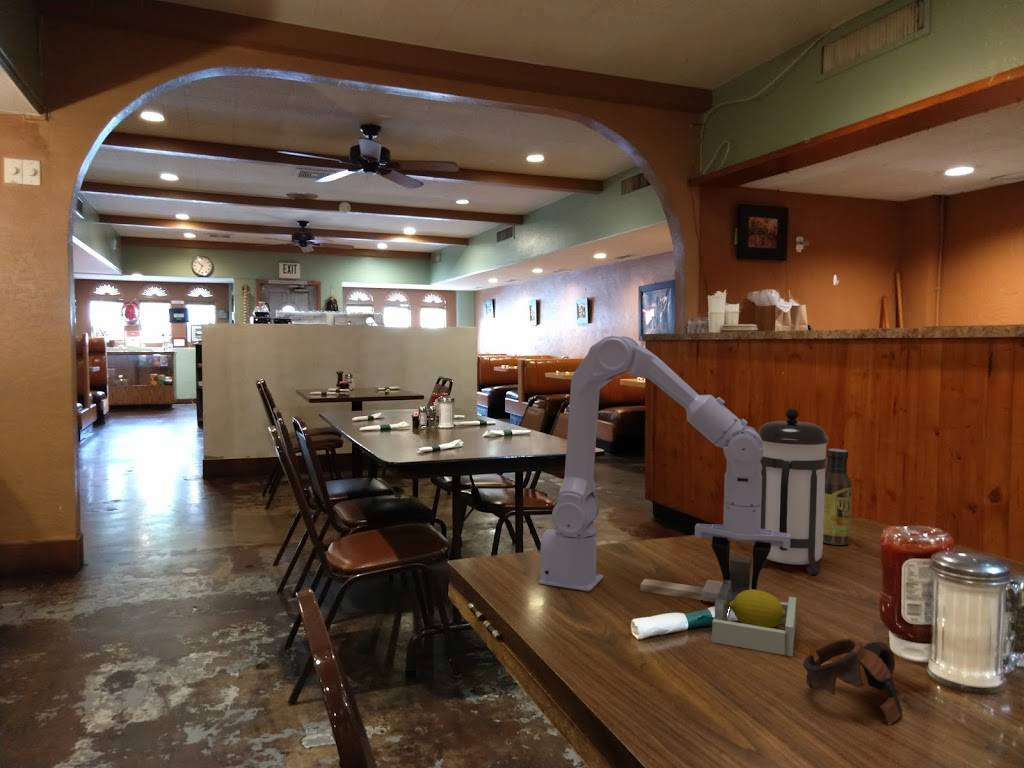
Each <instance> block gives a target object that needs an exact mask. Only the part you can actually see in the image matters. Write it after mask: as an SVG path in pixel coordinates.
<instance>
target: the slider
mask: <svg viewBox="0 0 1024 768" xmlns="http://www.w3.org/2000/svg"><path fill="white" fill-rule="evenodd" d="M752 562H753V557H749V556H742V555H735V554H733V555H732V556H731V557H730V559H729V566H730V580H724V581H723V580H722V581H720V580H714V579H707V580H706V582H705V584H704V586H703V587H704V588H703V590H702V596H705V597H712V598H716V601H715V603H714V619H718V620H724V621H728V618H727V613H728V609H729V603H730V602H732V601H733V600H734V599H735V598H736V596H737V595H738V594H739V593H741V592H743V591H745V590H752V589H751V584H752Z"/></svg>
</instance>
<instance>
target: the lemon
mask: <svg viewBox="0 0 1024 768" xmlns="http://www.w3.org/2000/svg"><path fill="white" fill-rule="evenodd" d="M780 602H781V601H780V600H779V599H778V598H777V597H776V596H775V595H773V594H771V593H769V592H766V591H764V590H763V591H762V590H758V589H756V590H753V589H751V590H745V591H743V592H741V593H739V594H738V595H737V596H736V598H735V599H734V600H733V601H732V602H730V603H729V607H730V609H731V610H730V611H732V613H733V614H734V616H735V618H736V619H737V622H738V623H742V624H748V625H754V626H760V627H766V628H772V629H775V627H777V626H778V625H779V623H780V622H781V620H782V619H783V618H784V617H785V616H786V612H785V611H784V610H783V607H782V605H781V603H780Z"/></svg>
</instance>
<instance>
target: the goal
mask: <svg viewBox="0 0 1024 768" xmlns="http://www.w3.org/2000/svg"><path fill="white" fill-rule="evenodd" d="M787 601H788V602H784V601H779V602H780V603H781V605H782V607H783V610H784V611H785V612H786V616H785V617H784V618H783V619H782V620H781V622H780V623H779V624H780V625H785V627H784V628H785V629H784V630H783V629H779V628H766V627H760V626H754V625H748V624H742V623H741V622H735V621H729V620H727V621H724V620H718V619H715V618H713V619H712V623H711V628H712V630H711V632H712V633H711V643H715V644H719V645H720V644H721V645H727V646H731V647H737V648H741V649H742V648H744V649H749V650H753V651H759V652H765V653H771V654H776V655H782V656H786V657H793V656H794V644H795V643H794V642H795V635H796V634H795V633H796V624H797V623H796V622H797V621H796V620H797V619H796V615H797V597H794V596H788V600H787ZM779 624H778V625H779Z"/></svg>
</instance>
